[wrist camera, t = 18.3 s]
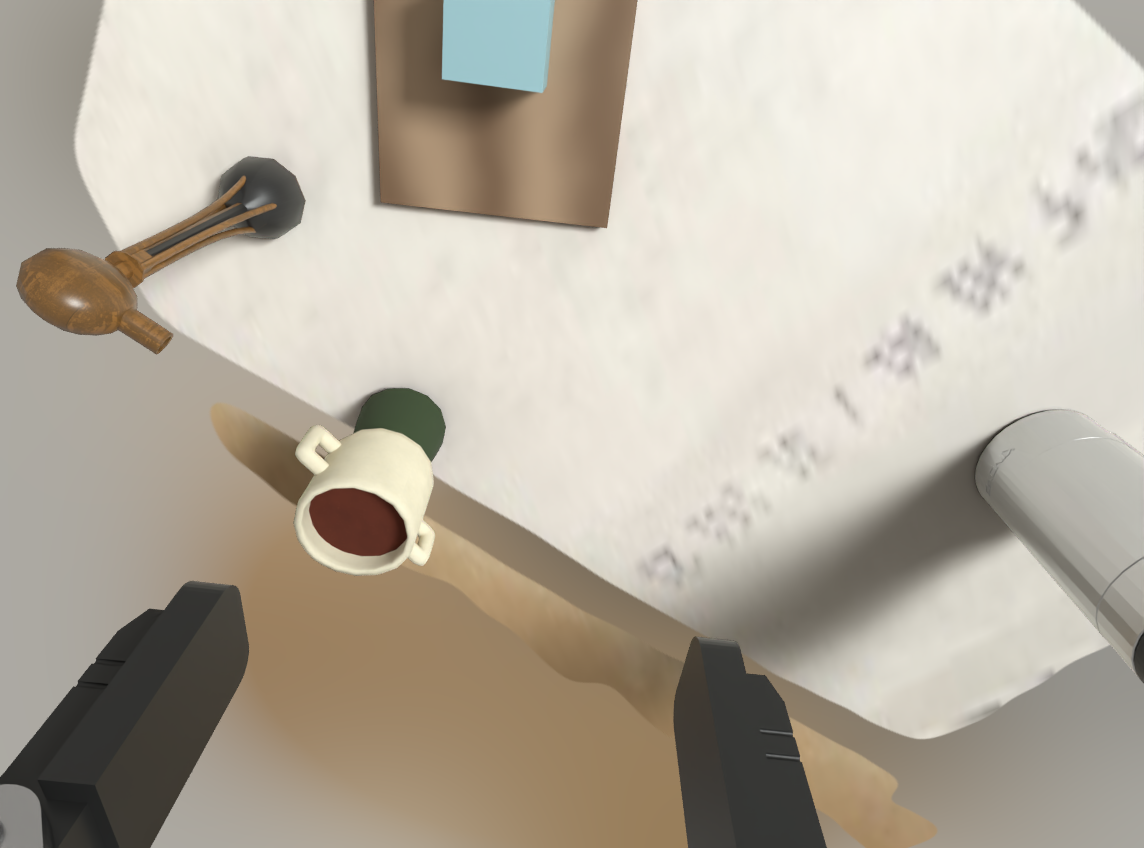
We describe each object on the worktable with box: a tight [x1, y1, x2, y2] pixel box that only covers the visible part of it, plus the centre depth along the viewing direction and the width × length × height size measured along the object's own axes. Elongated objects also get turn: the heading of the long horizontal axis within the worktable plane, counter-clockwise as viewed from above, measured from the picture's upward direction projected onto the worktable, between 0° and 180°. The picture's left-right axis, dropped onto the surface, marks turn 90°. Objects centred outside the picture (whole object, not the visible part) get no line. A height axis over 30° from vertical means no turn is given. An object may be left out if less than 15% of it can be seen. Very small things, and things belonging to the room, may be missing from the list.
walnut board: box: [374, 0, 637, 228], centre depth 37 cm, size 14×20×1 cm
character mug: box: [294, 388, 446, 576], centre depth 44 cm, size 11×7×13 cm, turn 37°
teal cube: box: [442, 0, 555, 93], centre depth 34 cm, size 5×5×5 cm
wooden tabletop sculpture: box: [16, 156, 305, 354], centre depth 34 cm, size 6×5×20 cm
